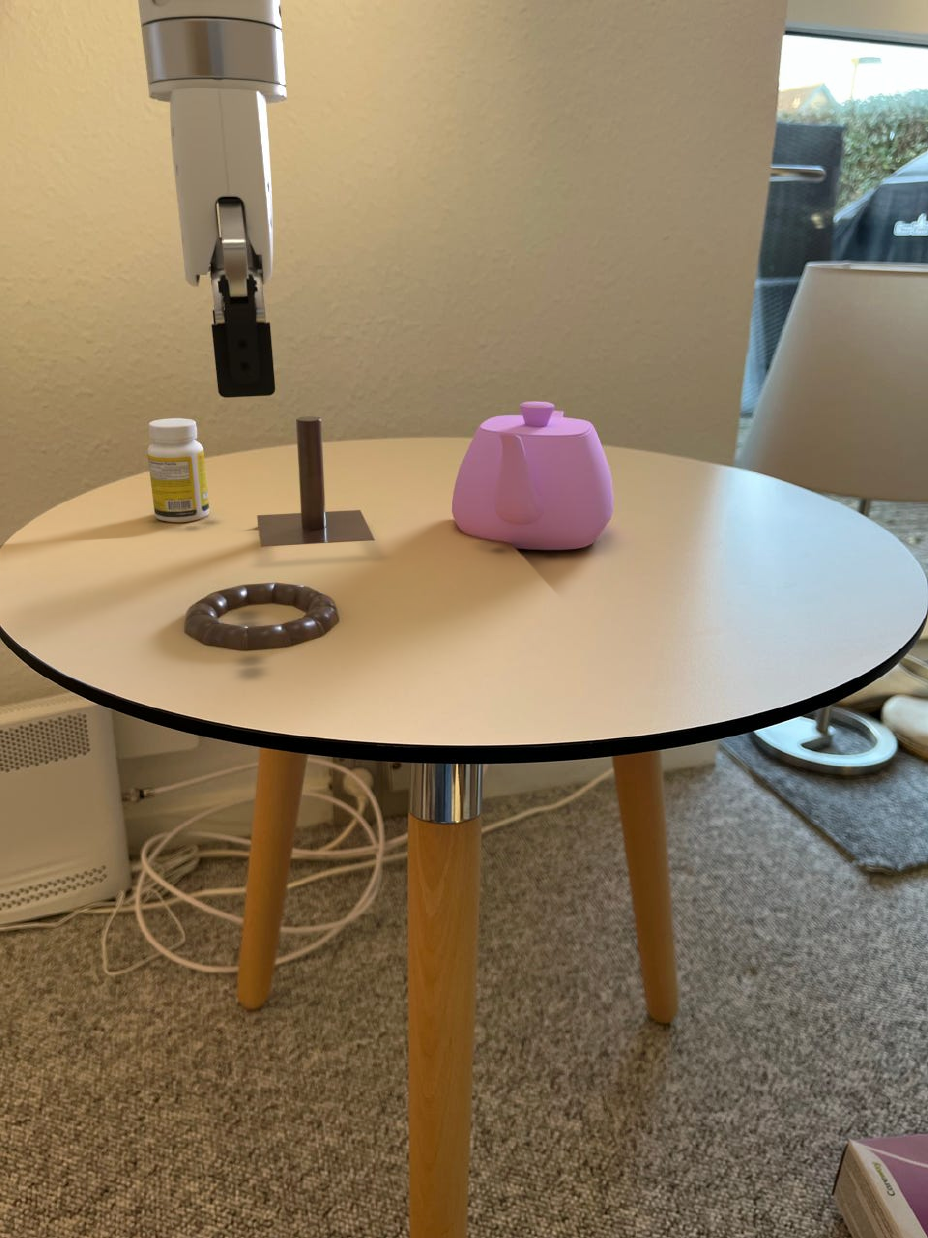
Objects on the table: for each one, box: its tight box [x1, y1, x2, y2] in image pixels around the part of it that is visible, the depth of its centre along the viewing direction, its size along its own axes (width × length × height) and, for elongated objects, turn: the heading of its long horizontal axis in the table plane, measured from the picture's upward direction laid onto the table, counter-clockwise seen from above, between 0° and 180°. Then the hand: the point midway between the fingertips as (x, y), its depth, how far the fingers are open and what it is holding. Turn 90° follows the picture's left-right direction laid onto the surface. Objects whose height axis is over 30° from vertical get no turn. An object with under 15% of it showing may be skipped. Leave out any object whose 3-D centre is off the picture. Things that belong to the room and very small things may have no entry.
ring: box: [184, 582, 340, 652], centre depth 63 cm, size 10×10×2 cm
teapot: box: [451, 400, 614, 551], centre depth 81 cm, size 13×20×11 cm
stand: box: [256, 415, 376, 548], centre depth 80 cm, size 9×9×10 cm
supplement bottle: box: [146, 417, 210, 523], centre depth 86 cm, size 5×5×8 cm
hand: (245, 382), depth 61 cm, fingers open, 9 cm apart
